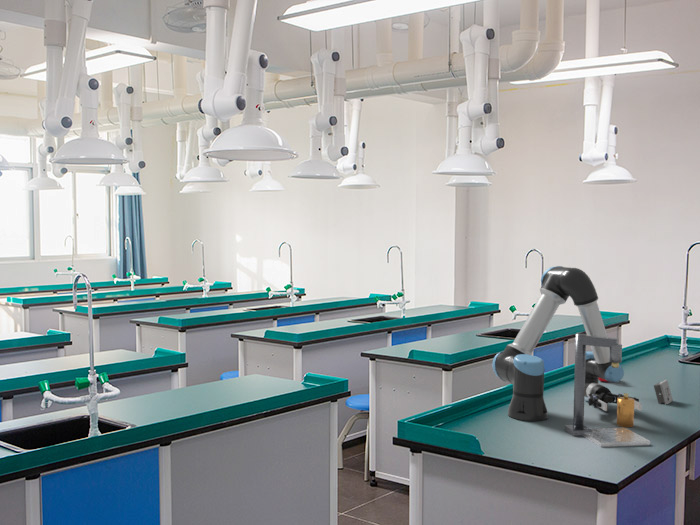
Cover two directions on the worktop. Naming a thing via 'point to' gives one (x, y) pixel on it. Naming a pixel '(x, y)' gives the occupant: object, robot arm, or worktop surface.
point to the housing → (625, 411)
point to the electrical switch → (663, 392)
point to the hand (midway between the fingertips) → (623, 407)
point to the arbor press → (598, 435)
